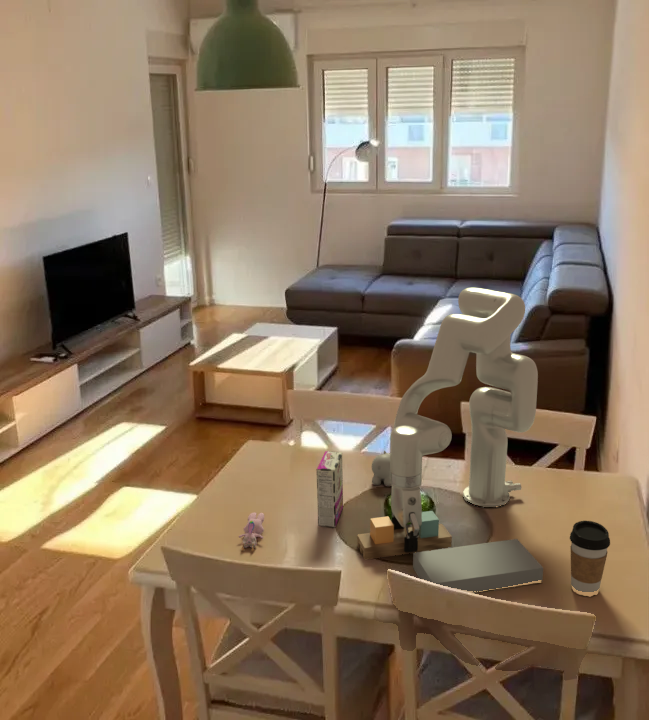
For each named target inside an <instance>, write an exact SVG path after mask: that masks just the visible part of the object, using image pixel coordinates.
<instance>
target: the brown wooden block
mask: <svg viewBox="0 0 649 720" xmlns="http://www.w3.org/2000/svg"><path fill="white" fill-rule="evenodd" d="M408 531H409V532H410V531H412V528H408ZM404 537H406V534H405V529H396V530H394V539H393V542H389V543H381V544H375V543H374V541H373V539H372V537H371V536H370V532H367V533H366V532H365V533H358V534H357V536H356V547H357V548H358V549H359V552H360V554H361V555H362V558H363V560H373V559H378V558H380V557H381V558H387V557H394V556H395V555H396V556H403V555H409V553H410V554H413V553H415V552H423V551H429V550H436V549H442V548H448V547H451V548H452V541H453V539H452V538H453V536H452V534H451V533H450V532H449V531H448V529H447V528H446V526H445V525H444V524H443V523H439V532H438V536H435V537H427V538H420V536H419V535H418V550H417V551H415V552H408V553H405V551H404ZM402 554H403V555H402Z"/></svg>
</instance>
